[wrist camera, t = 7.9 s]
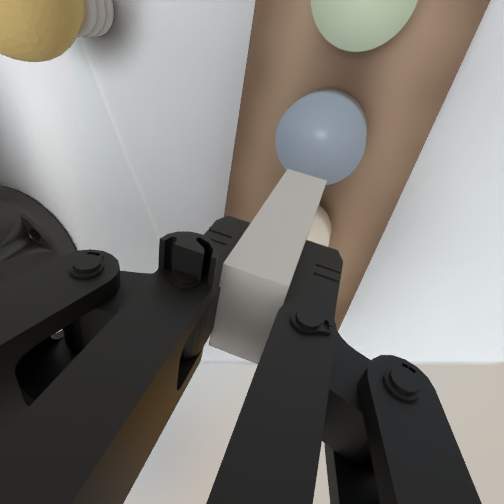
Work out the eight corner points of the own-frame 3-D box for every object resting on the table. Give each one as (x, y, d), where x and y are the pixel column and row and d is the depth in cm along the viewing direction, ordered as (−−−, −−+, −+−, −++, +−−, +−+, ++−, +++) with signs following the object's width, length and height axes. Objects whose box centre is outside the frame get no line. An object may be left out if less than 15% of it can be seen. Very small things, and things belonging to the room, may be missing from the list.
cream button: (258, 245, 27) (248, 263, 25) (271, 187, 24) (261, 201, 22) (320, 265, 27) (315, 285, 24) (341, 207, 24) (337, 224, 22)
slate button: (277, 160, 23) (267, 172, 21) (295, 78, 20) (286, 84, 18) (350, 180, 23) (348, 195, 20) (380, 99, 20) (380, 107, 18)
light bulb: (43, -25, 26) (-110, -53, 18) (107, -68, 23) (-38, -124, 15) (87, 67, 28) (-28, 81, 20) (148, 38, 26) (45, 40, 18)
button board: (223, 278, 36) (212, 295, 33) (284, -95, 20) (272, -113, 17) (337, 316, 34) (334, 338, 32) (504, -59, 18) (524, -73, 16)
